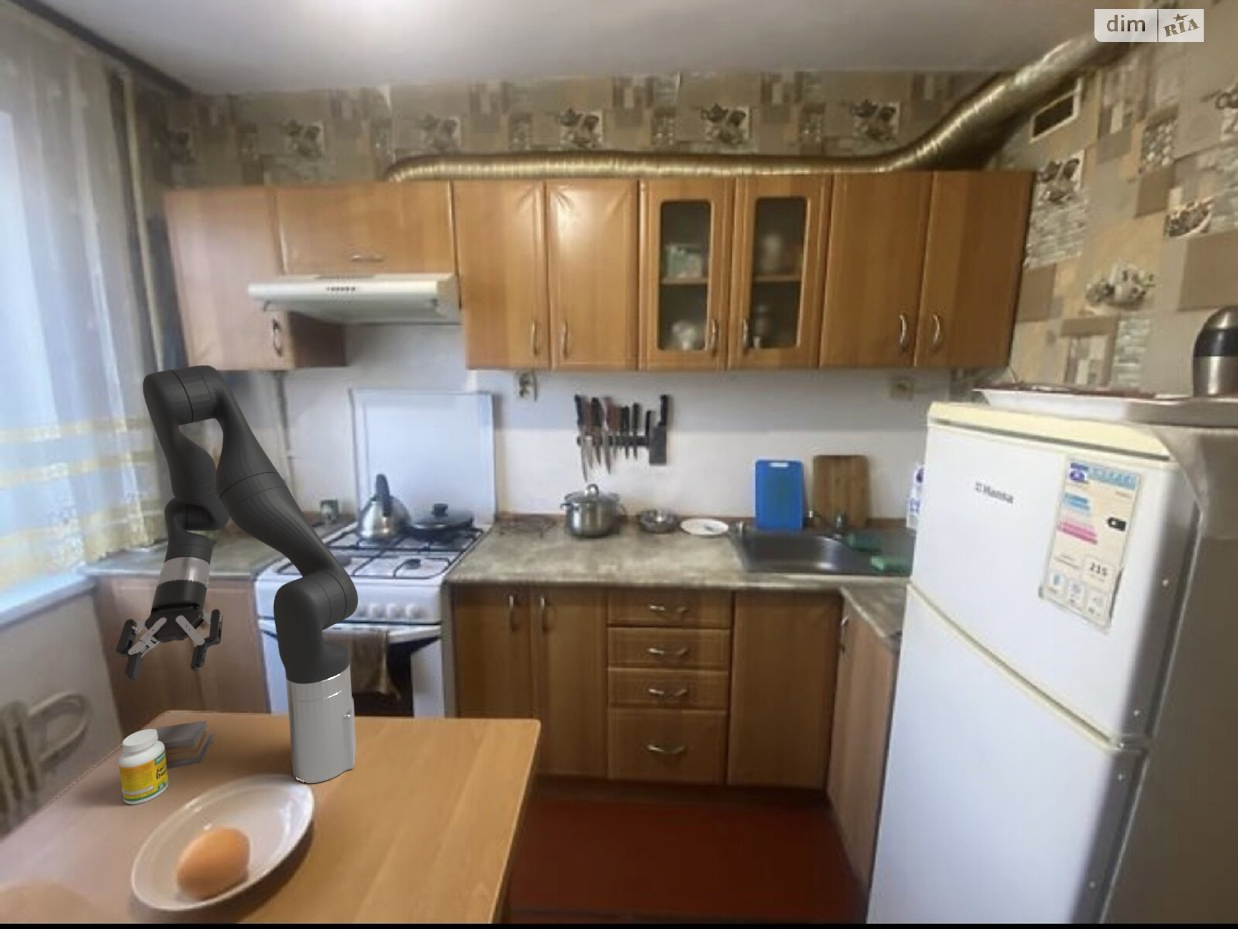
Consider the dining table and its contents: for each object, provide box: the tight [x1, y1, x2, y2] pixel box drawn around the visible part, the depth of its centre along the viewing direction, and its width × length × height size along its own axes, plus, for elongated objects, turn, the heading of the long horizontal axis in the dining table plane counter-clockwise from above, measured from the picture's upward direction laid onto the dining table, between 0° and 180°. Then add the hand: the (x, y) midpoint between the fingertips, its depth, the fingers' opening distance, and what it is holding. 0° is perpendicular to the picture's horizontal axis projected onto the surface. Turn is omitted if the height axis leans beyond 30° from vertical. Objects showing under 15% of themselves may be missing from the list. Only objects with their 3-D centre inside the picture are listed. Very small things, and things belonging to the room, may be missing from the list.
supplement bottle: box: [118, 728, 169, 805], centre depth 83 cm, size 5×5×10 cm
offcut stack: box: [155, 720, 215, 769], centre depth 92 cm, size 9×7×4 cm
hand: (164, 674), depth 91 cm, fingers open, 8 cm apart
